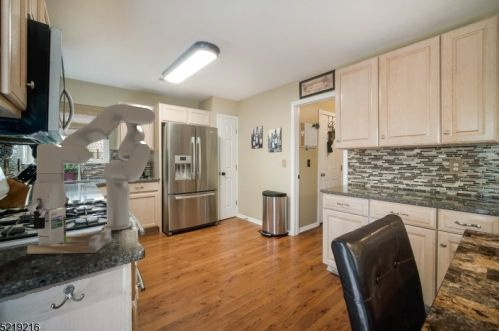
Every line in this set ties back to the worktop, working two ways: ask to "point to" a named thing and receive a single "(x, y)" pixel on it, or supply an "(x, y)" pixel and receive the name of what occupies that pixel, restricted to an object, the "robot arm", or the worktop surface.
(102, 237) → the rail channel
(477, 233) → the worktop surface
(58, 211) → the syrup box
